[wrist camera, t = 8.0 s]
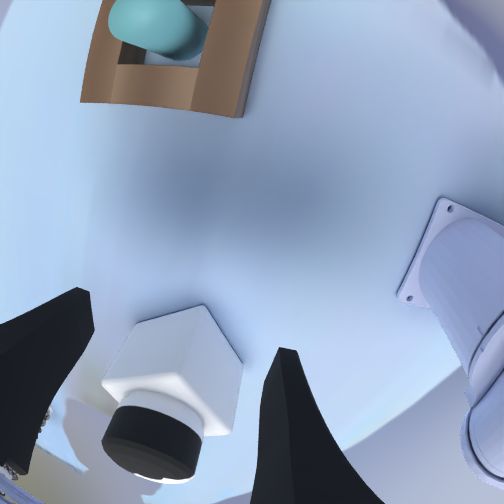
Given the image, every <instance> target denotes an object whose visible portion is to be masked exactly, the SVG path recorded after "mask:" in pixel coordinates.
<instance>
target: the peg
mask: <svg viewBox="0 0 504 504" xmlns="http://www.w3.org/2000/svg"><path fill="white" fill-rule="evenodd" d="M108 26H109V29H110V32H111V33H112V35H113V36H114V37H115V38H117V39H119V40H121V41H124V42H127V43H130V44H133V45H136V46H138V47H141V48H144V49H146V50H149V51H152V52H154V53H157V54H159V55H162V56H164V57H167V58H169V59H172V60H175V61H185V60H189V59H191V58H193V57H195V56H197V55H198V54H199V53H200V52H201V51H202V50H203V48H204V44H205V40H206V36H207V32H208V30H207V28H206V26H205V24H204V23H203V22H202V21H201V20H200V19H199V18H198V17H197V16H196V15H195V14H194V13H193V12H192V11H191V10H190V9H189V8H188V7H187V6H186V5H185V4H184V3H182V2H181V1H180V0H116V2H115V3H114V5H113V6H112V8H111V11H110V13H109V18H108Z"/></svg>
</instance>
